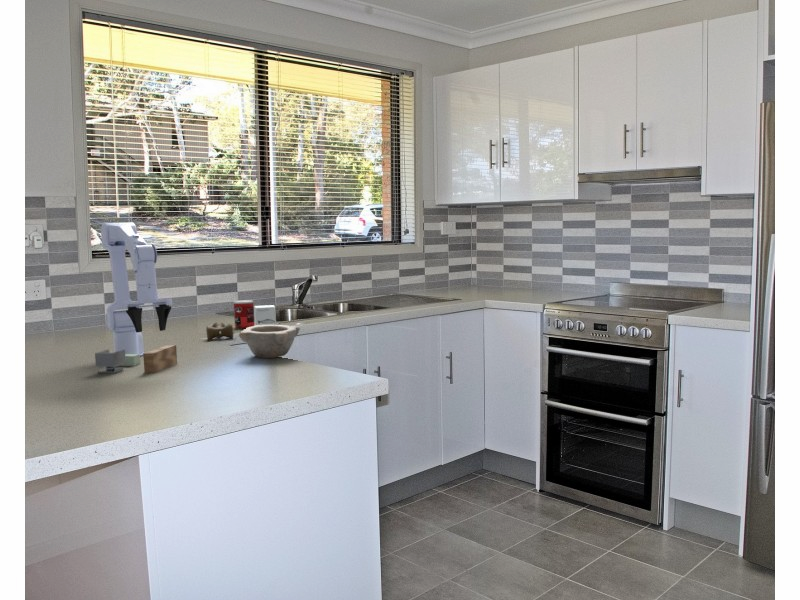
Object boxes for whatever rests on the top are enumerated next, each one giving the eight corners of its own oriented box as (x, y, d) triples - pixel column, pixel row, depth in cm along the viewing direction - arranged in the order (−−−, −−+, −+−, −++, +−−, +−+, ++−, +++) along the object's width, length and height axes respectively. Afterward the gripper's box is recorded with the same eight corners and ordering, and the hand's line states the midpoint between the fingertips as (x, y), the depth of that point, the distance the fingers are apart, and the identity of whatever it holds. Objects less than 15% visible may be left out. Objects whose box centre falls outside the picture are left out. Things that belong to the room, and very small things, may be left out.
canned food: (234, 326, 298) (232, 300, 297) (253, 325, 301) (252, 299, 300) (235, 329, 291) (234, 302, 290) (255, 328, 293) (254, 301, 292)
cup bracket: (108, 369, 215) (106, 349, 214) (126, 369, 214) (124, 349, 213) (96, 373, 209) (94, 353, 208) (114, 373, 208) (113, 353, 207)
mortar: (285, 361, 220) (284, 332, 219) (235, 360, 224) (233, 331, 223) (304, 351, 237) (303, 324, 236) (257, 350, 240) (256, 323, 239)
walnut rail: (168, 363, 222) (167, 344, 221) (177, 364, 221) (176, 345, 220) (144, 373, 208) (143, 353, 207) (153, 373, 207) (152, 353, 207)
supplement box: (256, 342, 257) (255, 307, 256) (255, 339, 264) (253, 305, 263) (277, 341, 259) (275, 306, 258) (275, 338, 266) (273, 304, 265)
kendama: (231, 334, 281) (234, 340, 262) (206, 336, 279) (207, 343, 259) (230, 319, 281) (233, 324, 262) (205, 321, 278) (206, 327, 259)
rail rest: (125, 363, 223) (125, 353, 223) (140, 363, 222) (139, 354, 222) (119, 365, 220) (118, 356, 220) (134, 365, 219) (133, 356, 219)
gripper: (116, 287, 208) (120, 334, 208) (162, 283, 205) (166, 330, 205) (130, 287, 215) (134, 331, 215) (174, 283, 212) (178, 328, 212)
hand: (150, 331), depth 211 cm, fingers open, 7 cm apart
